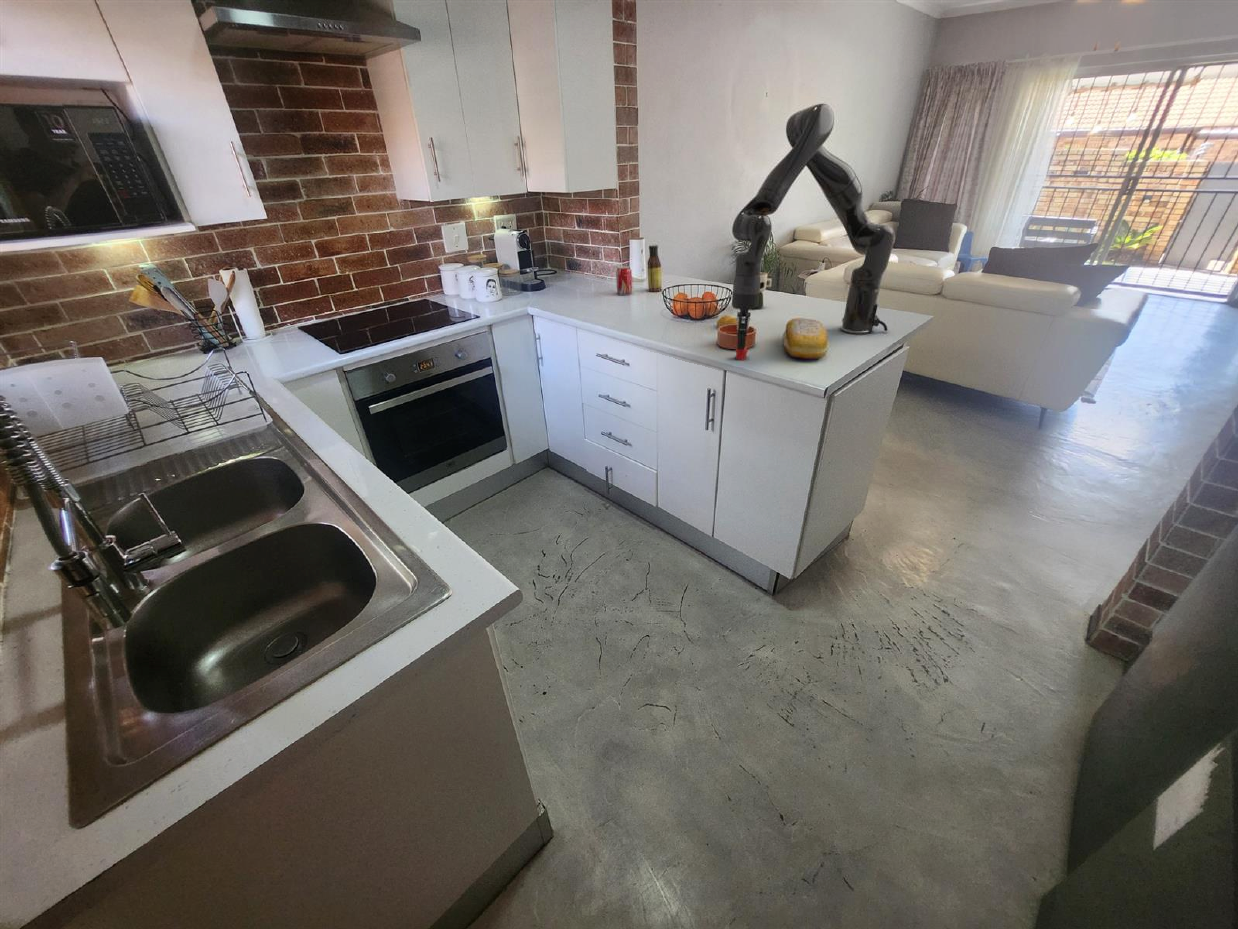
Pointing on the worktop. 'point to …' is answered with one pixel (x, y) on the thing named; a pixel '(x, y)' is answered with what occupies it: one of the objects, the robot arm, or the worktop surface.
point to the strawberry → (741, 354)
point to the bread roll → (726, 321)
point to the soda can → (624, 280)
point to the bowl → (734, 336)
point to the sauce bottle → (654, 270)
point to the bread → (805, 338)
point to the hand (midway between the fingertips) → (741, 344)
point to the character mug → (763, 288)
